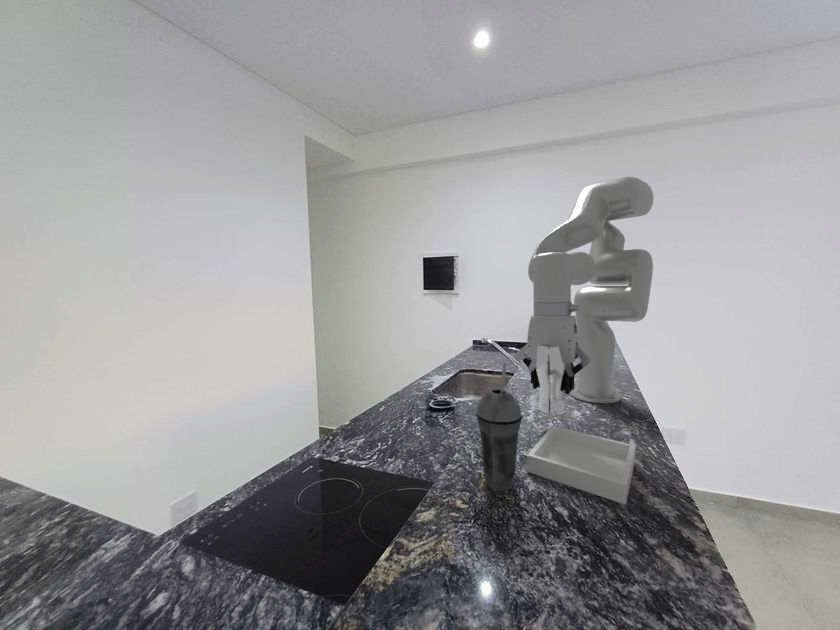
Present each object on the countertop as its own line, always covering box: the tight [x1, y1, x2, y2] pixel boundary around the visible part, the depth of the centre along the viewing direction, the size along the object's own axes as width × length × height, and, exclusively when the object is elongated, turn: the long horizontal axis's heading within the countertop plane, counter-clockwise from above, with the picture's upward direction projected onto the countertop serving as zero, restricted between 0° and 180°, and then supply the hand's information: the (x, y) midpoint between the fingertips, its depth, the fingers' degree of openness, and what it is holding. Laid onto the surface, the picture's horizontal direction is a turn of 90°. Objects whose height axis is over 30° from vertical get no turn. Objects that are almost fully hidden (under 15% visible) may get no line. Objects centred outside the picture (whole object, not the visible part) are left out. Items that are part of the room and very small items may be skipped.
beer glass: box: [535, 345, 568, 415], centre depth 72 cm, size 7×7×15 cm
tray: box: [526, 425, 636, 505], centre depth 57 cm, size 15×15×3 cm
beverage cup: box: [475, 362, 523, 492], centre depth 53 cm, size 7×7×20 cm
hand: (551, 389), depth 72 cm, fingers closed on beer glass, 6 cm apart
